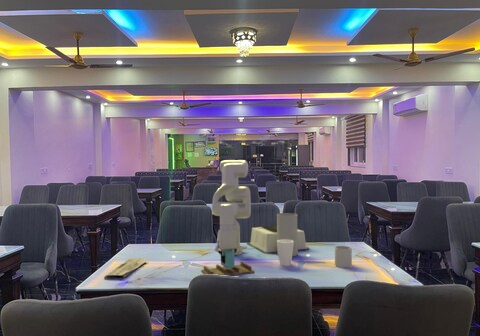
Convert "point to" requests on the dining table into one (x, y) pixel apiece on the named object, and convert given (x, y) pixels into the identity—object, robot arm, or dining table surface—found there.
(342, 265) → the mug
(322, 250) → the dining table surface
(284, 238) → the cylinder vase
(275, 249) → the cake box
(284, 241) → the foam cup
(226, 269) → the rack
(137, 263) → the newspaper
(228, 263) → the block
